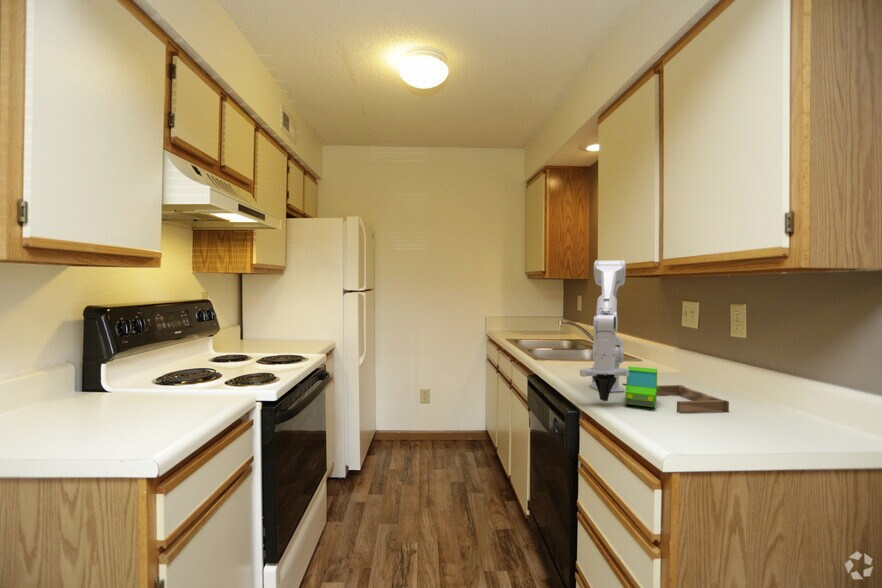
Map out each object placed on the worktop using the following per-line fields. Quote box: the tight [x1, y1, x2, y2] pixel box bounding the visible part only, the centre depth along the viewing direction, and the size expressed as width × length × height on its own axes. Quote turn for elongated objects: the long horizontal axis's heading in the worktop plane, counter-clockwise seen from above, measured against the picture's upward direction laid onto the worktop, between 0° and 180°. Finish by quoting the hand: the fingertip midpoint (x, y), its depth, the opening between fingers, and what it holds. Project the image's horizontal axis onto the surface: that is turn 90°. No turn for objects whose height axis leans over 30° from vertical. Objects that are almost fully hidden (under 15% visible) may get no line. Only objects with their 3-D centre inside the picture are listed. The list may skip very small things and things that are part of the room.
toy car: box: [622, 365, 660, 410], centre depth 130 cm, size 10×13×10 cm
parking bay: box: [657, 384, 730, 414], centre depth 132 cm, size 20×15×3 cm
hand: (603, 400), depth 129 cm, fingers closed
